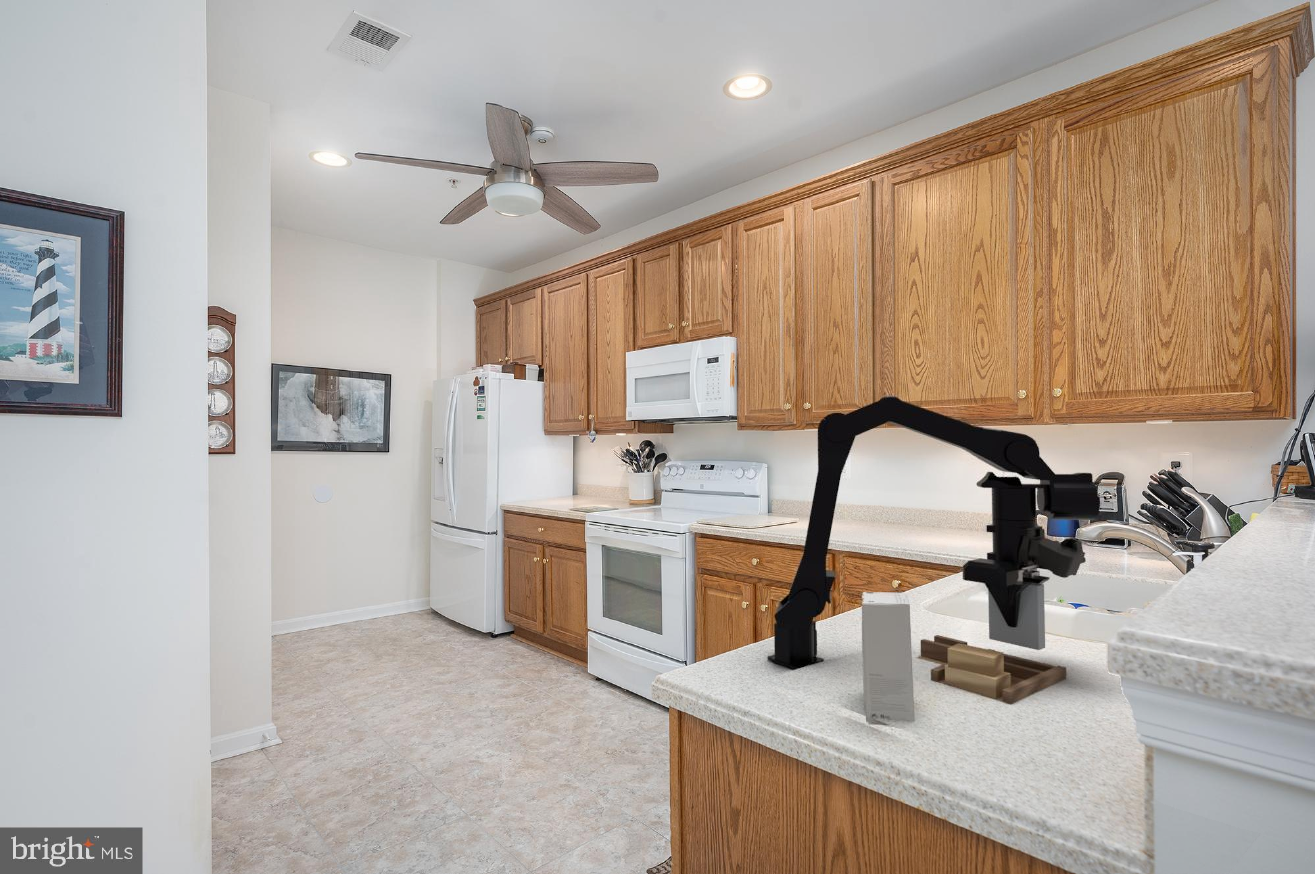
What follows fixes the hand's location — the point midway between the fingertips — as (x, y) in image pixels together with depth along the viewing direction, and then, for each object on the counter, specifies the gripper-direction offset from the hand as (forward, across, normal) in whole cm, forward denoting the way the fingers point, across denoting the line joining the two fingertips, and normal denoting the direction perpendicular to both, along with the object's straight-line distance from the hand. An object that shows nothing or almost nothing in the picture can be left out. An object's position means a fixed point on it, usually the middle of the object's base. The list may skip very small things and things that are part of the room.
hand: (1016, 625), depth 95 cm
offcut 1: (+4, -11, 0) cm, 12 cm away
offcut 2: (+7, -11, 0) cm, 13 cm away
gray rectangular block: (+3, 0, 0) cm, 3 cm away
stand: (+8, -2, +10) cm, 13 cm away
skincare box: (+8, -26, +4) cm, 28 cm away
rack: (+8, -5, 0) cm, 9 cm away
